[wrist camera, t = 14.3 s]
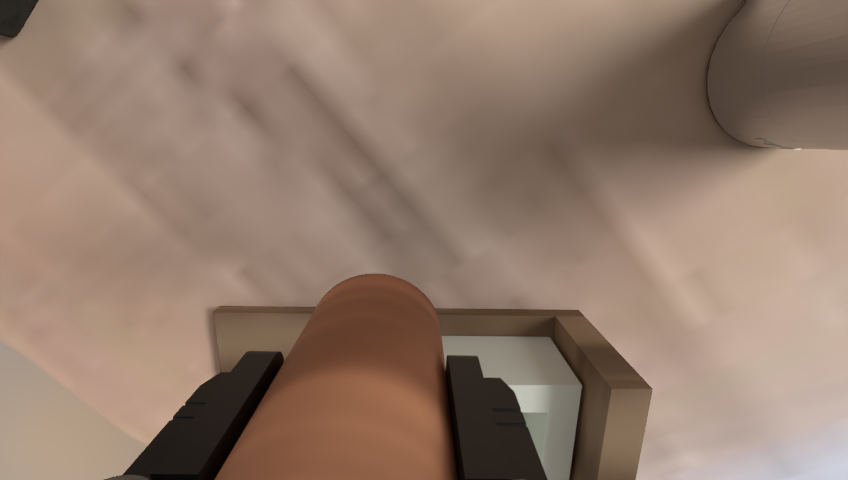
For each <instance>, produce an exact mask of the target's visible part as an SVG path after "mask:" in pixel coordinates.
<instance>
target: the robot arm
mask: <svg viewBox="0 0 848 480" xmlns="http://www.w3.org/2000/svg"><path fill="white" fill-rule="evenodd" d="M707 92H708V97H709V102H710V106H711V109H712V111H713V113H714V115H715V118H716V120H717V121H718V123H719V124H720V125H721V126H722V128H723V129H724V130H725V131H726V132H727V133H728V134H729V135H731V136H732V137H734V138H735V139H736V140H738V141H740V142H743V143H745V144H748V145H751V146H758V147H765V148H781V149H831V150H848V0H746V2H745V5H744V6H743V7H742V9H741V10H740V11H739V12H738V13H737V14H736V16H735V17H734V18H733V19H732V20H731V21H730V22H729V24H728V25H727V26H726V28H725V30H724V31H723V33H722V35H721V36H720V38H719V40H718V41H717V44H716V46H715V49H714V51H713V54H712V57H711V60H710V65H709V70H708V80H707ZM283 363H284V357H283V354H282V352H280V351H247V352H246V353H245V354H244V355H243V357H242V358H241V359H240V360H239V362H238V363H237V364H236V365H235V367H234V368H233V369H232V370H231V372H221V373H219V374H218V375H216V376H215V377H213V378H211V379H210V380H208V381H207V382H205V383H204V384H202V385H201V386H199V388H198V389H197V390H196V391H195V392H194V393H193V395H192V396H191V397H190V398H189V399H188V400H187V401H186V404H185V406H182V407H181V408H180V409H179V411H178V412H177V413H176V414H175V415H174V416H173V420H172V421H169V422H168V423H167V424H166V426H165V427H164V428H163V429H162V430H161V431H160V432H159V434H158V435H157V436H156V437H155V438H154V439H153V441H152V442H151V443H150V444H149V445H148V446H147V447H146V449H145V450H144V451H143V452H142V453H141V454H140V455H139V457H138V458H137V459H136V460H135V461H134V462H133V464H132V465H131V466H130V467H129V468H128V469H127V470H126V472H125V473H124V474H123V475H121V476H116V477H112V478H108V479H105V480H214V479H215V478H216V476H217V474H218V473H219V471H220V469H221V468H222V466H223V464H224V463H225V461H226V459H227V458H228V456H229V454H230V452H231V451H232V449H233V447H234V446H235V444H236V442H237V441H238V439H239V437H240V436H241V434H242V432H243V431H244V429H245V427H246V425H247V424H248V422H249V420H250V419H251V417H252V415H253V414H254V412H255V410H256V409H257V407H258V405H259V403H260V402H261V400H262V398H263V397H264V395H265V393H266V392H267V390H268V388H269V387H270V385H271V383H272V382H273V380H274V378H275V376H276V375H277V373H278V371H279V370H280V368H281V366H282V365H283ZM446 380H447V389H448V397H449V405H450V414H451V422H452V431H453V439H454V447H455V456H456V464H457V472H458V480H548V479H547V476H546V474H545V471H544V469H543V466H542V463H541V461H540V458H539V455H538V453H537V450H536V447H535V445H534V442H533V440H532V437H531V434H530V432H529V429H528V427H526V421H525V418H524V416H523V413H522V412H521V408H520V405H519V403H518V400H517V397H516V395H515V392H514V391H513V390H512V389H511V388H510V387H509V386H508V385H507V384H506V383H505V382H504V381H503V380H502V379H501V378H484V377H483V373H482V369H481V366H480V362H479V358H478V356H465V355H447V358H446Z"/></svg>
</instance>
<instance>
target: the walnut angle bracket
mask: <svg viewBox="0 0 848 480" xmlns="http://www.w3.org/2000/svg"><path fill="white" fill-rule="evenodd" d="M315 309H316V307H243V306H220V307H219V308H218V309H217V310H216V311H215V312H214V320H215V328H216V336H217V344H218V352H219V360H220V369H221V372H231V370H232V369H233V368H234V367H235V365H236V364H237V363H238V362H239V360H240V359H241V358H242V357H243V355H244V354H245V353H246V352H247V351H280V352H282V354H283V357H284V361H285V360H286V358H287V356H288V355H289V353H290V351H291V349H292V348H293V346H294V344H295V343H296V341H297V339H298V338H299V336H300V334H301V333H302V331H303V329H304V328H305V326H306V324H307V322H308V321H309V319H310V317H311V316H312V314H313V312H314V311H315ZM435 310H436V313H437V315H438V318H439V322H440V328H441V335H442V336H516V337H550V338H551V340H552V341H553V343H554V344H555V346H556V347H557V349H558V350H559V352H560V353H561V355H562V356H563V358H564V359H565V361H566V362H567V364H568V365H569V367H570V368H571V370H572V371H573V373H574V374H575V376H576V377H577V379H578V380H579V382H580V383H581V385H582V390H581V397H580V404H579V411H578V419H577V426H576V433H575V440H574V447H573V455H572V462H571V469H570V476H569V480H635V479H636V473H637V468H638V463H639V458H640V452H641V447H642V442H643V437H644V431H645V426H646V421H647V416H648V410H649V405H650V400H651V395H652V388H651V387H650V386H649V385H648V384H647V383H646V382H645V380H644V379H643V378H642V377H641V376H640V375H639V374H638V373H637V372H636V371H635V370H634V369H633V368H632V367H631V366H630V364H629V363H628V362H627V361H626V360H625V359H624V358H623V357H622V356H621V355H620V354H619V353H618V352H617V351H616V350H615V348H614V347H613V346H612V345H611V344H610V343H609V342H608V341H607V340H606V339H605V338H604V337H603V336H602V335H601V334H600V332H599V331H598V330H597V329H596V328H595V327H594V326H593V325H592V324H591V323H590V322H589V321H588V320H587V319H586V318H585V316H584V315H583V314H582V313H581V312H580V311H579V310H511V309H435Z"/></svg>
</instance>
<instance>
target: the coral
mask: <svg viewBox="0 0 848 480" xmlns="http://www.w3.org/2000/svg"><path fill="white" fill-rule="evenodd" d="M37 1H38V0H0V35H4V36H8V37H14V36H16V35H17V34H18V33H19V32H20V30H21V28H22V27H23V25H24V23H25V21H26V20H27V18H28V17H29V15H30V13H31V12H32V10H33V8H34V6H35V4H36V3H37Z"/></svg>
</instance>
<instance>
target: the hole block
mask: <svg viewBox="0 0 848 480" xmlns="http://www.w3.org/2000/svg"><path fill="white" fill-rule="evenodd" d="M442 344H443V352H444V360H445V368H446V358H447V355H465V356H478V358H479V362H480V366H481V369H482V373H483V377H484V378H501V379H502V380H503V381H504V382H505V383H506V384H507V385H508V386H509V387H510V388H511V389H512V390H513V391H514V392H515V395H516V397H517V400H518V403H519V405H520V408H521V412H522V413H523V416H524V418H525V421H526V427H528V429H529V432H530V434H531V437H532V440H533V442H534V445H535V447H536V450H537V453H538V455H539V458H540V461H541V463H542V466H543V469H544V471H545V474H546V476H547V479H548V480H569V476H570V469H571V462H572V455H573V447H574V440H575V433H576V426H577V419H578V411H579V404H580V397H581V390H582V385H581V383H580V382H579V380H578V379H577V377H576V376H575V374H574V373H573V371H572V370H571V368H570V367H569V365H568V364H567V362H566V361H565V359H564V358H563V356H562V355H561V353H560V352H559V350H558V349H557V347H556V346H555V344H554V343H553V341H552V340H551V338H550V337H516V336H442Z"/></svg>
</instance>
